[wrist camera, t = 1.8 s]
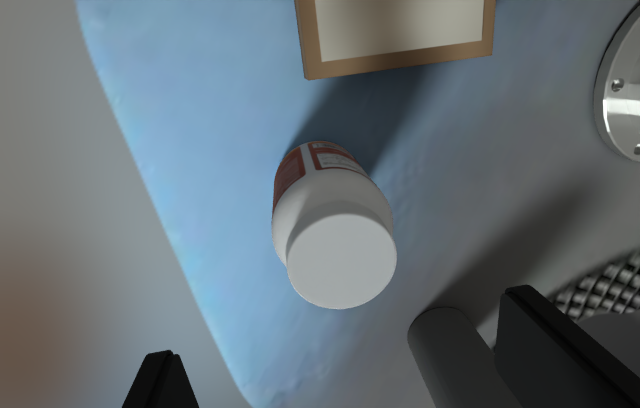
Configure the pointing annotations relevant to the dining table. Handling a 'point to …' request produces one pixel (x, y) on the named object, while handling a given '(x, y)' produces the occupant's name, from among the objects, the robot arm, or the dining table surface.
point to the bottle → (457, 362)
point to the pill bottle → (331, 227)
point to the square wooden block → (390, 34)
